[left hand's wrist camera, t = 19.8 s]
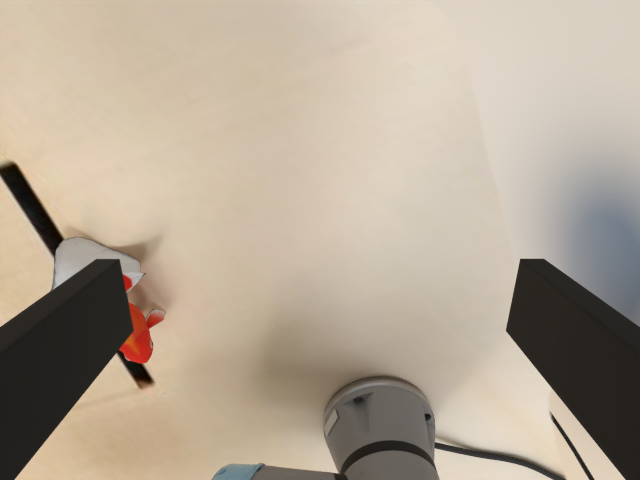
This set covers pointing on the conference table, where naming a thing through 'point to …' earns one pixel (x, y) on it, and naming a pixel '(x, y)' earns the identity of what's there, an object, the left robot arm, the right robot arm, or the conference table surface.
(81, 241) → the fish
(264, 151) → the conference table surface
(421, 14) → the conference table surface
